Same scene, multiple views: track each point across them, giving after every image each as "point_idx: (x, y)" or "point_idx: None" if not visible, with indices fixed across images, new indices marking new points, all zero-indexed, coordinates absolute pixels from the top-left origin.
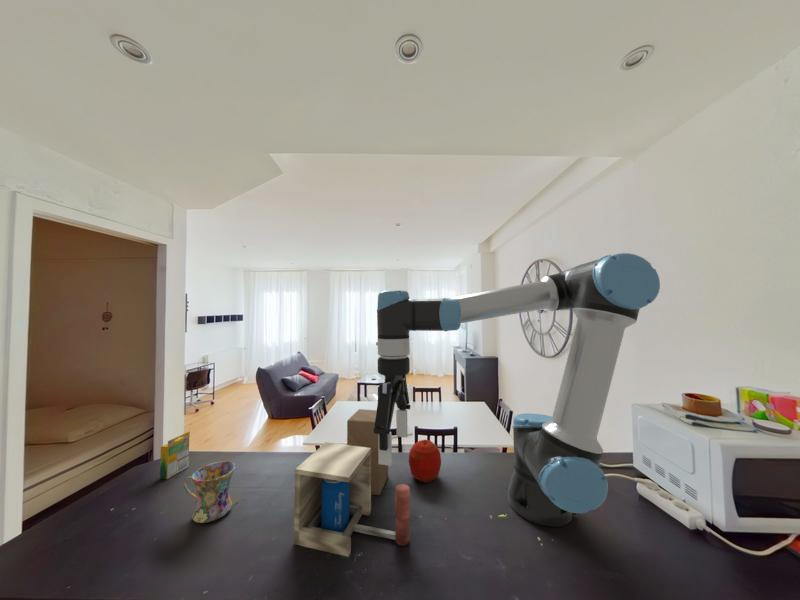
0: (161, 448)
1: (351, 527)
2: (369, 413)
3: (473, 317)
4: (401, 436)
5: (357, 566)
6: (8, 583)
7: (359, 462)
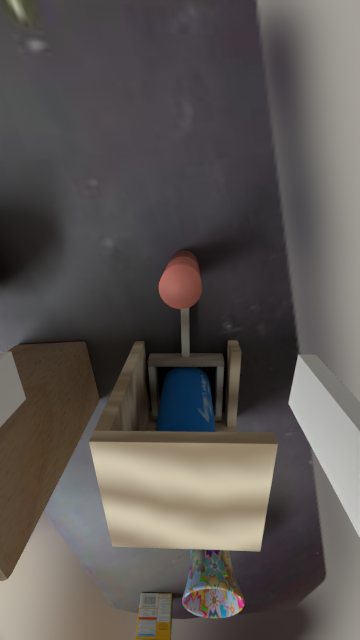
0: None
1: (196, 358)
2: None
3: None
4: (17, 378)
5: (250, 320)
6: (318, 585)
7: (190, 444)
